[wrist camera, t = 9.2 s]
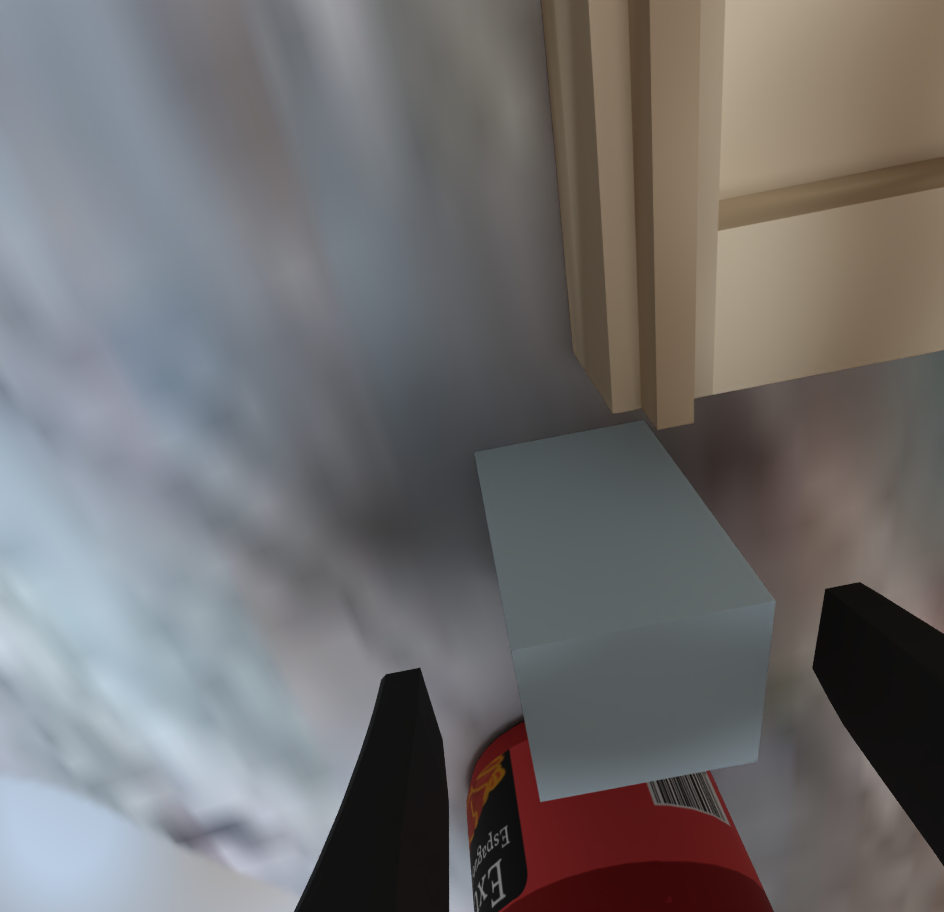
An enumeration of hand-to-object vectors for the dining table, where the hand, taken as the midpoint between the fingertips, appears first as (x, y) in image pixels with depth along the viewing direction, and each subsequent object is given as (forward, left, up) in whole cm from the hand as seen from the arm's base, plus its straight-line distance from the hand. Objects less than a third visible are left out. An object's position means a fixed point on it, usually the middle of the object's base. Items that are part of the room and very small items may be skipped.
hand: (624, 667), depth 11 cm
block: (0, 0, -5) cm, 5 cm away
